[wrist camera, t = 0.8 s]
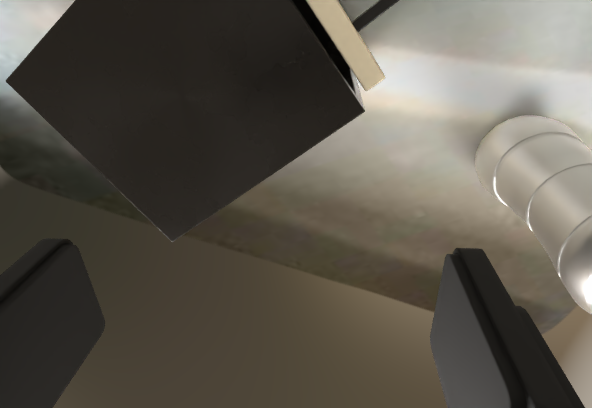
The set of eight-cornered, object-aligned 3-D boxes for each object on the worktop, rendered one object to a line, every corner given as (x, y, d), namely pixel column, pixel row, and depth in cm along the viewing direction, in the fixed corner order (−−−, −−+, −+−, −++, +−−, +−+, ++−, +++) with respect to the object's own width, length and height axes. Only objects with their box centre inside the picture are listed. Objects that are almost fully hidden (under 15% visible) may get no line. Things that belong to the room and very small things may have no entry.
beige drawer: (336, -178, 21) (338, -258, 14) (436, 8, 25) (475, 15, 18) (123, 38, 28) (54, 55, 21) (229, 160, 31) (200, 207, 25)
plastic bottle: (469, 113, 29) (677, 302, 11) (567, 101, 28) (957, 288, 10) (464, 189, 32) (622, 431, 14) (553, 181, 31) (837, 430, 14)
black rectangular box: (244, -95, 24) (196, -140, 16) (355, 75, 28) (365, 111, 20) (99, 54, 29) (4, 81, 21) (212, 179, 33) (172, 242, 25)
